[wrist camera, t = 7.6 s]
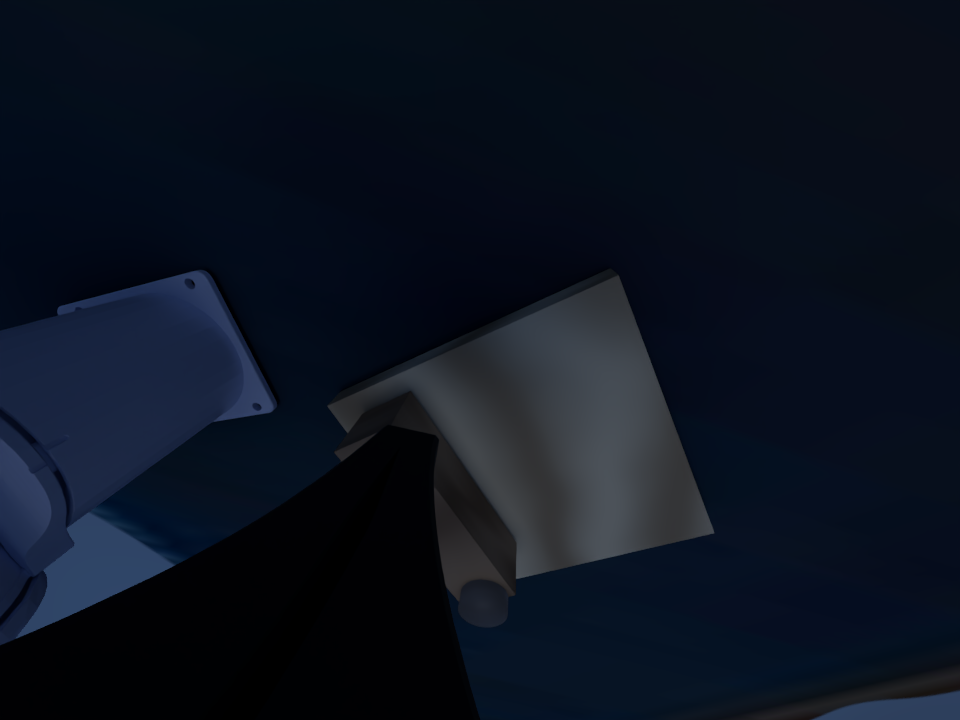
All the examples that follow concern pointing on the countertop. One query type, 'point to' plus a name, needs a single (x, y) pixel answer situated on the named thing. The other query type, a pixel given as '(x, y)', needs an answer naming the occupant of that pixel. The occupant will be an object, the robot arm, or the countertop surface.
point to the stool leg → (454, 518)
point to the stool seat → (556, 427)
